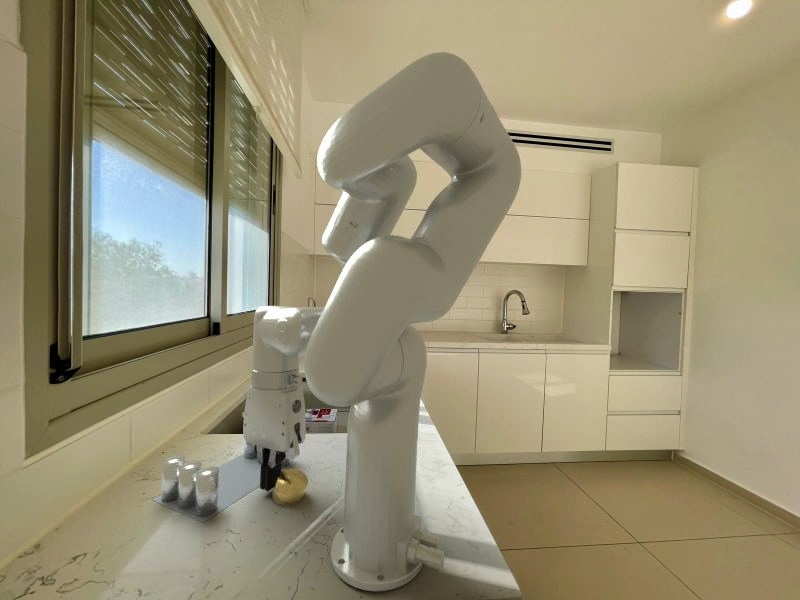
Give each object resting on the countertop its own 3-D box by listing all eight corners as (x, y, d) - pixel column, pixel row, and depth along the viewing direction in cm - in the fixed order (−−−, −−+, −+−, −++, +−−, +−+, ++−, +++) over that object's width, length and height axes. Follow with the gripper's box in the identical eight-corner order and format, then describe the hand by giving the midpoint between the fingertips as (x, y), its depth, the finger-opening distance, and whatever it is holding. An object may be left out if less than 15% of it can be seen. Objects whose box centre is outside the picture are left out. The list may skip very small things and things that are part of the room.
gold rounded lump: (308, 494, 57) (314, 479, 56) (289, 512, 52) (295, 496, 51) (286, 478, 58) (291, 464, 58) (265, 495, 53) (271, 479, 53)
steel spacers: (292, 462, 66) (294, 432, 66) (204, 519, 49) (205, 478, 49) (252, 451, 70) (253, 422, 70) (157, 498, 53) (158, 461, 53)
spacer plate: (296, 465, 66) (296, 462, 66) (203, 526, 48) (203, 522, 48) (252, 452, 71) (252, 449, 71) (151, 503, 53) (151, 499, 53)
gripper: (325, 380, 57) (320, 486, 57) (259, 369, 62) (255, 465, 62) (295, 390, 50) (289, 511, 50) (224, 377, 55) (219, 485, 56)
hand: (270, 485), depth 56 cm, fingers closed
